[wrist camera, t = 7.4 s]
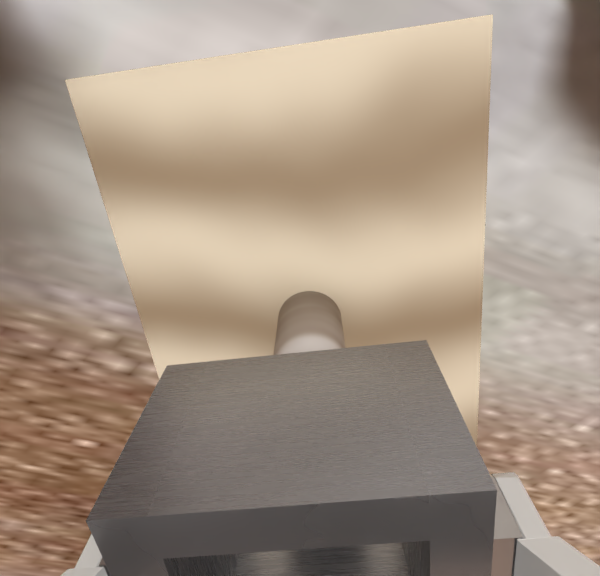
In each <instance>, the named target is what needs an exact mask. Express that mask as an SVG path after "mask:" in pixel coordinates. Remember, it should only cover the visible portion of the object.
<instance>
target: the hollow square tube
mask: <svg viewBox="0 0 600 576" xmlns="http://www.w3.org/2000/svg"><path fill="white" fill-rule="evenodd" d="M496 497H497V489H496V487H495V485H494V483H493V481H492V479H491V476H490V474H489V472H488V470H487V468H486V466H485V464H484V462H483V459H482V457H481V455H480V453H479V451H478V449H477V447H476V445H475V442H474V440H473V438H472V436H471V434H470V432H469V430H468V428H467V425H466V423H465V421H464V419H463V417H462V415H461V413H460V411H459V408H458V406H457V404H456V402H455V400H454V398H453V396H452V394H451V391H450V389H449V387H448V385H447V383H446V381H445V379H444V377H443V374H442V372H441V370H440V368H439V366H438V364H437V362H436V360H435V357H434V355H433V353H432V351H431V349H430V347H429V345H428V343H427V340H421V341H411V342H400V343H390V344H380V345H370V346H360V347H350V348H340V349H329V350H319V351H309V352H299V353H289V354H279V355H268V356H258V357H248V358H238V359H228V360H218V361H207V362H197V363H187V364H177V365H167V366H166V368H165V370H164V372H163V374H162V376H161V378H160V380H159V382H158V384H157V386H156V388H155V389H154V391H153V393H152V395H151V397H150V399H149V401H148V403H147V405H146V407H145V409H144V411H143V412H142V414H141V416H140V418H139V420H138V422H137V424H136V426H135V428H134V430H133V432H132V434H131V436H130V437H129V439H128V441H127V443H126V445H125V447H124V449H123V451H122V453H121V455H120V457H119V459H118V461H117V462H116V464H115V466H114V468H113V470H112V472H111V474H110V476H109V478H108V480H107V482H106V484H105V485H104V487H103V489H102V491H101V493H100V495H99V497H98V499H97V501H96V503H95V505H94V507H93V509H92V510H91V512H90V514H89V516H88V518H87V520H86V522H87V524H88V526H89V529H90V531H91V533H92V535H93V537H94V540H95V542H96V544H97V546H98V549H99V551H100V553H101V555H102V557H103V560H104V562H105V564H106V566H107V568H108V571H109V573H110V575H111V576H491V570H492V555H493V541H494V526H495V512H496Z"/></svg>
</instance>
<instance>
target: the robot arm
mask: <svg viewBox="0 0 600 576" xmlns="http://www.w3.org/2000/svg"><path fill="white" fill-rule="evenodd" d="M490 476H491V479H492V481H493V483H494V485H495V487H496V489H497V497H496V512H495V526H494V541H493V555H492V570H491V576H600V566H599V565H597V564H596V563H594V562H593V561H592V560H590V559H589V558H588V557H586V556H585V555H584V554H582V553H581V552H579V551H578V550H577V549H575V548H574V547H573V546H571V545H570V544H568V543H567V542H566V541H564V540H563V539H562V538H560V537H559V536H554V537H551V535H550V533H549V531H548V529H547V528H546V526H545V524H544V522H543V520H542V519H541V517H540V515H539V513H538V511H537V509H536V508H535V506H534V504H533V502H532V500H531V499H530V497H529V495H528V493H527V491H526V489H525V488H524V486H523V484H522V482H521V480H520V479H519V477H518V475H517V474H515V473H514V472H510V473H498V474H491V475H490ZM61 576H111V575H110V573H109V571H108V568H107V566H106V564H105V562H104V560H103V557H102V555H101V553H100V551H99V549H98V546H97V544H96V542H95V540H94V537H93V535H92V534H91V536H90V538H89V540H88V542H87V544H86V546H85V548H84V550H83V552H82V554H81V556H80V558H79V560H78V562H77V564H76V566H75V568H73V569H67V570H66V571H65V572H64V573H63V574H62V575H61Z"/></svg>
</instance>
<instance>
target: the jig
mask: <svg viewBox="0 0 600 576" xmlns="http://www.w3.org/2000/svg"><path fill="white" fill-rule="evenodd" d="M492 25H493V14H492V15H486V16H479V17H473V18H466V19H460V20H453V21H447V22H440V23H433V24H427V25H420V26H414V27H407V28H401V29H394V30H388V31H381V32H375V33H368V34H361V35H355V36H348V37H342V38H335V39H329V40H322V41H316V42H309V43H303V44H296V45H289V46H283V47H276V48H270V49H263V50H257V51H250V52H244V53H237V54H230V55H224V56H217V57H211V58H204V59H198V60H191V61H185V62H178V63H172V64H165V65H158V66H152V67H145V68H139V69H132V70H126V71H119V72H113V73H106V74H100V75H93V76H86V77H80V78H73V79H67V80H65V82H66V85H67V88H68V91H69V94H70V97H71V101H72V104H73V107H74V110H75V113H76V116H77V120H78V123H79V126H80V129H81V132H82V136H83V139H84V142H85V145H86V148H87V151H88V155H89V158H90V161H91V164H92V167H93V170H94V174H95V177H96V180H97V183H98V186H99V189H100V193H101V196H102V199H103V202H104V205H105V209H106V212H107V215H108V218H109V221H110V224H111V228H112V231H113V234H114V237H115V240H116V243H117V247H118V250H119V253H120V256H121V259H122V262H123V266H124V269H125V272H126V275H127V278H128V282H129V285H130V288H131V291H132V294H133V297H134V301H135V304H136V307H137V310H138V313H139V316H140V320H141V323H142V326H143V329H144V332H145V336H146V339H147V342H148V345H149V348H150V351H151V355H152V358H153V361H154V364H155V367H156V370H157V374H158V377H159V380H160V378H161V376H162V374H163V372H164V370H165V368H166V366H167V365H177V364H187V363H197V362H207V361H218V360H228V359H238V358H248V357H258V356H268V355H279V354H289V353H299V352H309V351H319V350H329V349H340V348H350V347H360V346H370V345H380V344H390V343H400V342H411V341H421V340H427V343H428V345H429V347H430V349H431V351H432V353H433V355H434V357H435V360H436V362H437V364H438V366H439V368H440V370H441V372H442V374H443V377H444V379H445V381H446V383H447V385H448V387H449V389H450V391H451V394H452V396H453V398H454V400H455V402H456V404H457V406H458V408H459V411H460V413H461V415H462V417H463V419H464V421H465V423H466V425H467V428H468V430H469V432H470V434H471V436H472V438H473V440H474V442H475V445H476V447H477V428H478V401H479V374H480V347H481V320H482V293H483V267H484V240H485V213H486V186H487V159H488V132H489V106H490V79H491V52H492Z"/></svg>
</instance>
